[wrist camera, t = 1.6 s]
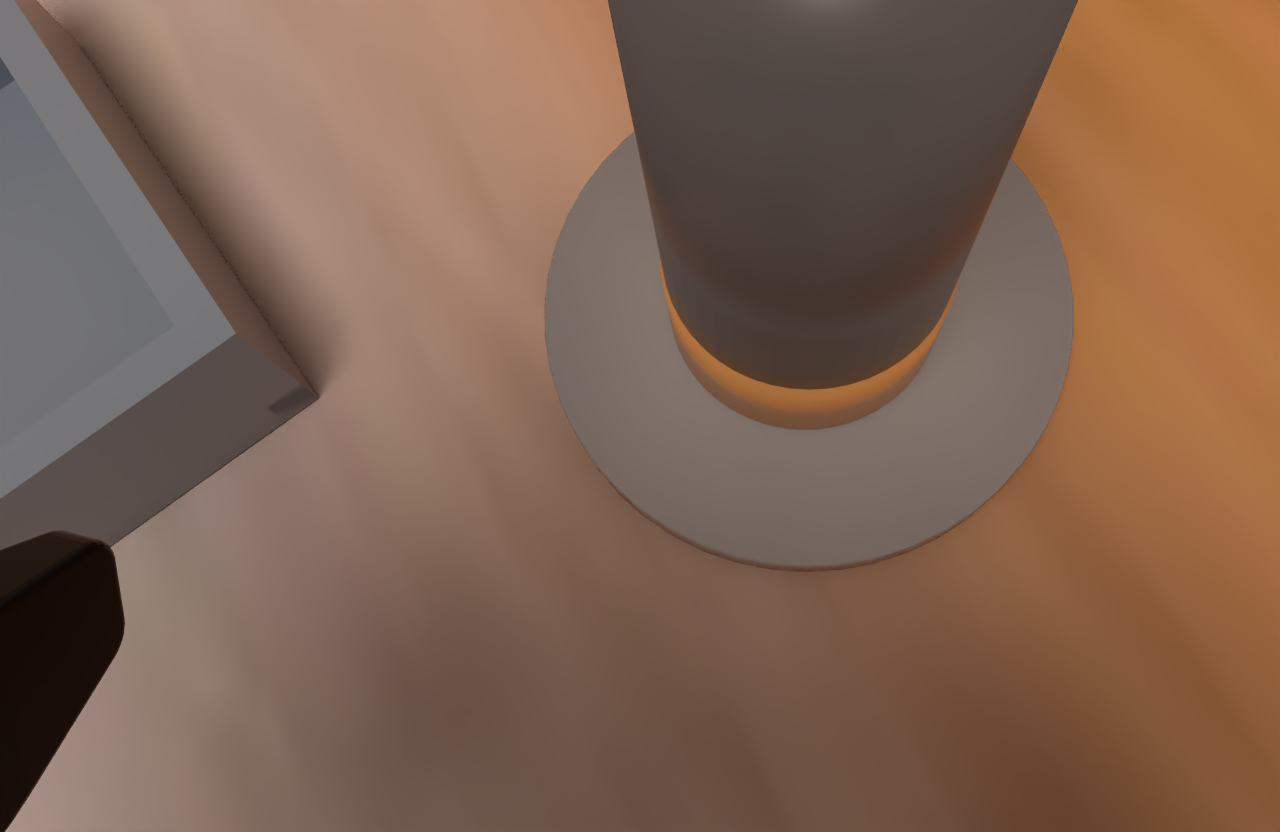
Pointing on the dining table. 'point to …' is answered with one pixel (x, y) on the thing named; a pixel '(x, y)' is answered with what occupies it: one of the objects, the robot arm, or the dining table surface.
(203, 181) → the dining table surface
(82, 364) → the dish
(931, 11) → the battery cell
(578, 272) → the pad
